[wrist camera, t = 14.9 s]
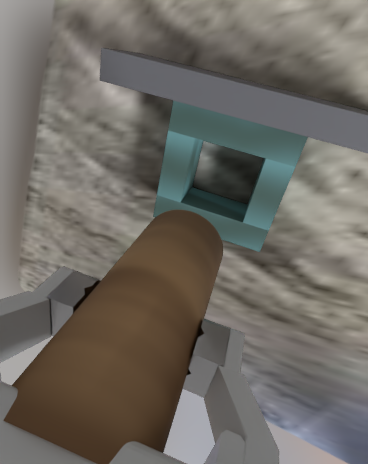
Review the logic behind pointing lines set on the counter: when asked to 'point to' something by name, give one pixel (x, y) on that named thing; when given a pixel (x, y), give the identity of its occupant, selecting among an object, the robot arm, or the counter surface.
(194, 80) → the wall
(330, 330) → the counter surface
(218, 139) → the block
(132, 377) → the dowel
